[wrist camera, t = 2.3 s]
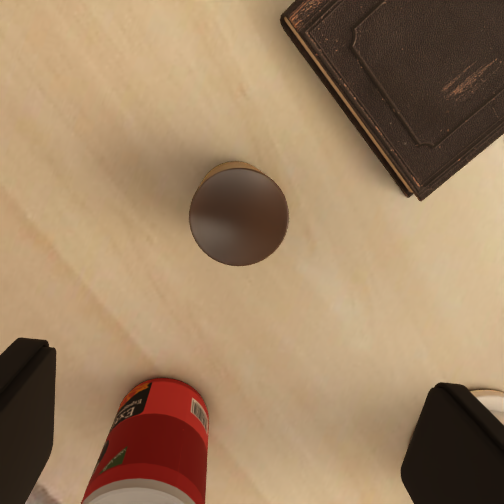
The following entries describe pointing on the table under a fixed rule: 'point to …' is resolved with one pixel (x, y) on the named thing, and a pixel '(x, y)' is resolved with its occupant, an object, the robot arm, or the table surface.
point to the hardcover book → (410, 78)
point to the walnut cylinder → (238, 214)
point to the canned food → (154, 448)
